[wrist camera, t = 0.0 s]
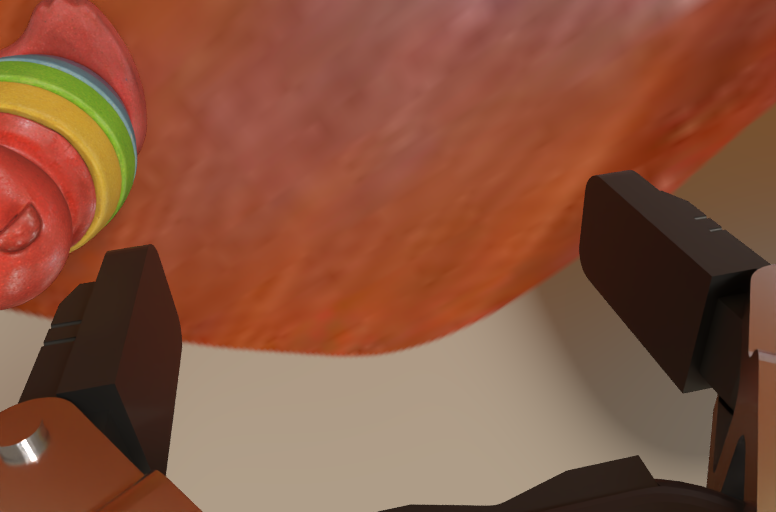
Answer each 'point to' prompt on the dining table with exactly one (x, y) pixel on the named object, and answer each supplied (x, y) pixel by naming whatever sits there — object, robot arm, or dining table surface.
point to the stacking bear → (63, 141)
